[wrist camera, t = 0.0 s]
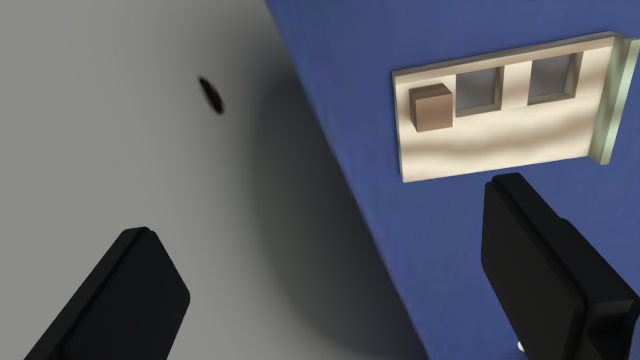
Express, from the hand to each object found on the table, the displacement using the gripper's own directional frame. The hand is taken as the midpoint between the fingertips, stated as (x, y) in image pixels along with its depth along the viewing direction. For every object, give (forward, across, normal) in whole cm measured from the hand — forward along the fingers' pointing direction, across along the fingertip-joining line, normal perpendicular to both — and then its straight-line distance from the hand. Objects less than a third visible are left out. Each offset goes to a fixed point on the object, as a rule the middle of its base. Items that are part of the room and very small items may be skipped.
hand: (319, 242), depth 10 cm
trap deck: (+37, -20, +14) cm, 44 cm away
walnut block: (+34, -10, +10) cm, 37 cm away
